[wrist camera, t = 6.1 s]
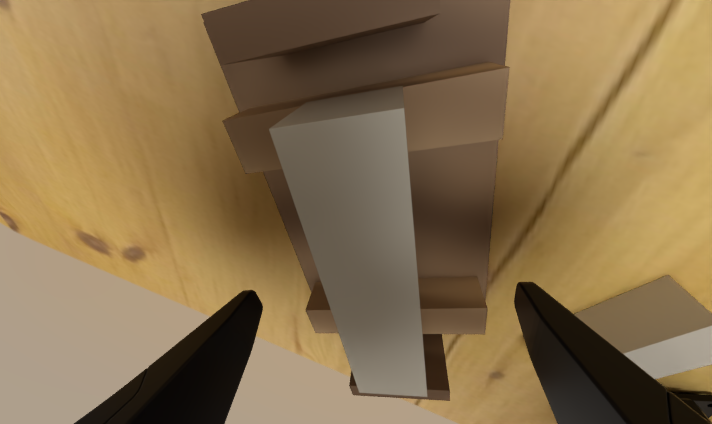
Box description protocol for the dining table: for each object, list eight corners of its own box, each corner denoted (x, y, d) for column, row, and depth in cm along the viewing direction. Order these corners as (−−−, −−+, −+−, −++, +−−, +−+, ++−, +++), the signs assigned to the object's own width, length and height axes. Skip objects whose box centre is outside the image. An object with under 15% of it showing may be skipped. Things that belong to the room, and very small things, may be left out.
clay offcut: (571, 401, 16) (548, 352, 19) (750, 354, 12) (691, 300, 15) (541, 379, 15) (521, 331, 18) (721, 322, 11) (664, 271, 14)
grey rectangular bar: (422, 333, 14) (427, 396, 12) (366, 332, 15) (359, 392, 12) (402, 85, 8) (404, 107, 5) (306, 102, 9) (268, 128, 6)
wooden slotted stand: (478, 319, 17) (503, 408, 13) (330, 320, 20) (312, 396, 15) (504, -56, 8) (610, -150, 4) (219, 23, 10) (97, 14, 6)
